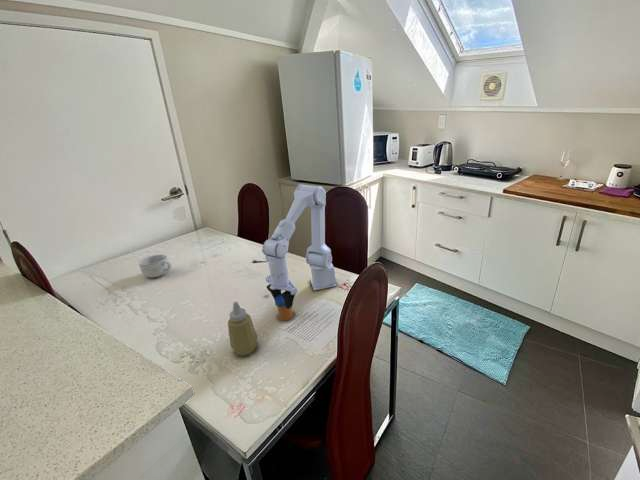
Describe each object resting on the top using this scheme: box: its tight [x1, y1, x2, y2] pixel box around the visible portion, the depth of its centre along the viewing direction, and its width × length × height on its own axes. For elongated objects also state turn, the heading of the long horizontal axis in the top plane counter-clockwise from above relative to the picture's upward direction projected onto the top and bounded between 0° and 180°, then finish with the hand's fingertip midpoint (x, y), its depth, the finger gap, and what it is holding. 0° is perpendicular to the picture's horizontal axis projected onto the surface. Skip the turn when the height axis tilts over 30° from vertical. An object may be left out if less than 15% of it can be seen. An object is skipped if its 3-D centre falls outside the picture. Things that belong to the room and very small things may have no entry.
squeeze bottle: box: [227, 301, 258, 356], centre depth 96 cm, size 8×8×18 cm
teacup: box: [137, 254, 172, 279], centre depth 142 cm, size 14×11×8 cm
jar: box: [276, 306, 294, 321], centre depth 113 cm, size 5×5×8 cm
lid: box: [274, 293, 286, 307], centre depth 112 cm, size 6×6×2 cm
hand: (283, 304), depth 113 cm, fingers closed on lid, 6 cm apart
